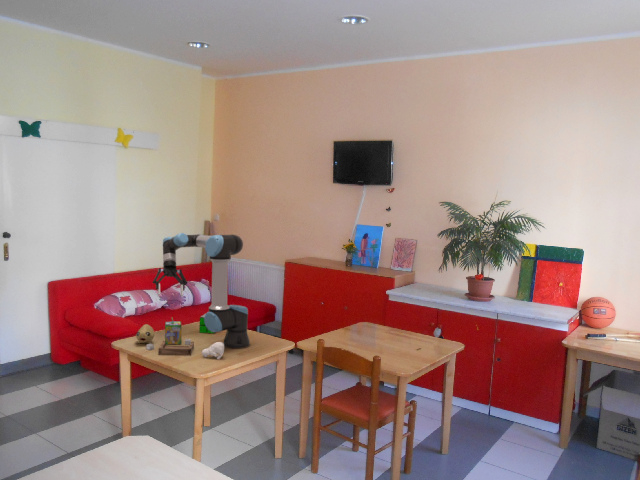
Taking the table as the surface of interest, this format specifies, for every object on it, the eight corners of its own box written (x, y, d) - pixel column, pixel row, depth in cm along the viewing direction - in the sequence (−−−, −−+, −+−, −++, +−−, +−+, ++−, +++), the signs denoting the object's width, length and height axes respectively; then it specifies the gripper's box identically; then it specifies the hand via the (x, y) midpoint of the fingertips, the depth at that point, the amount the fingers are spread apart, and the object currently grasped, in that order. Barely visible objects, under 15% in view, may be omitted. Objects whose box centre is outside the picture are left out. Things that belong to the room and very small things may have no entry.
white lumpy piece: (222, 343, 280) (200, 344, 280) (223, 359, 281) (201, 360, 281) (224, 340, 286) (202, 341, 286) (225, 355, 287) (203, 356, 287)
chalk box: (181, 344, 304) (182, 319, 303) (164, 345, 302) (165, 319, 300) (181, 340, 313) (181, 315, 312) (164, 340, 311) (165, 315, 309)
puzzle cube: (219, 330, 340) (219, 314, 339) (214, 334, 330) (215, 318, 329) (204, 328, 341) (204, 313, 340) (199, 332, 331) (199, 317, 330)
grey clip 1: (150, 348, 295) (151, 343, 294) (154, 349, 293) (154, 344, 293) (146, 349, 292) (146, 344, 292) (149, 350, 290) (149, 345, 290)
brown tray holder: (163, 346, 298) (163, 341, 298) (193, 347, 300) (194, 341, 300) (158, 354, 283) (158, 348, 283) (190, 355, 285) (190, 349, 285)
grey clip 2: (190, 343, 307) (190, 339, 307) (190, 344, 304) (190, 340, 304) (185, 343, 307) (185, 339, 307) (184, 344, 304) (185, 340, 304)
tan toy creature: (133, 346, 296) (133, 327, 295) (138, 340, 308) (138, 322, 307) (151, 346, 297) (151, 328, 296) (155, 340, 309) (156, 322, 308)
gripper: (187, 265, 331) (189, 297, 322) (147, 262, 318) (147, 296, 310) (191, 261, 325) (193, 293, 317) (150, 258, 312) (150, 292, 304)
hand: (170, 295), depth 313 cm, fingers open, 13 cm apart
